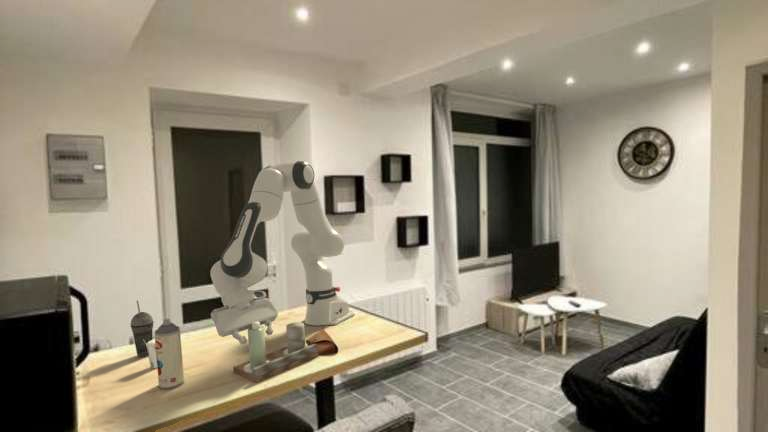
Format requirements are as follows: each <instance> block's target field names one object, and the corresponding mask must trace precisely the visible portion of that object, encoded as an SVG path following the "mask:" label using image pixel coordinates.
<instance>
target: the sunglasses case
mask: <svg viewBox="0 0 768 432" xmlns="http://www.w3.org/2000/svg"><path fill="white" fill-rule="evenodd" d="M305 343H307V344H308V346H310V345H312V344H317V349H318V357H320V356H321V357H322V356H325V355H326V356H327V355H333V354H337V353H338V352H339V348H338V346H337V344H336V343H335V341H334V340H333V338H332V337H331V335H330V334H328V332H327V331H326V330H325V329H324V328H321V329H320V330H319V331H318V332H317V333H315V334H313V335H312V336H310V337H309V338H307V339H305Z"/></svg>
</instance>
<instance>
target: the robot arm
mask: <svg viewBox="0 0 768 432" xmlns="http://www.w3.org/2000/svg"><path fill="white" fill-rule="evenodd" d="M285 192H290V197H291V201H292V206H293V209H294V213H295V217H296V219H297V222H298V223H299V224H300V225H301V226H303V227H304V228H305V230H301V231H297V232H296V233H294V235H292V237H291V241H290V243H291V248H292V250H293V252H294V253H296V254H297V256H298V258H300V261H301V263H302V265H303V268H304V273H305V285H306V289H305V299H306V312H305V318H304V324H306V325H308V326H309V325H310V326H316V327H317V326H318V327H319V326H330V325H331V326H332V325H333V326H335V325H338V324H340V323H342V322H343V321H345V320H347V319H350V318H351V317H353V316H355V312H354V311H353V310H350V307H349V303H348V301H347V300H345V299H344V298H342V297H341V296H339V295H338V294H337V293H336V292H340V291H341V287H340V286H333V270H332V268H331V267H330V266H329V265H328V264H327V263H326V261H325V260H324V258H332V257H338V256H339V255H341V253H342V252H343V250H344V248H345V240H344V238H343V235H342V234H340V233H339V232H338V231H337V230H336V229H335V228H334V227H332V225H331V224H330V222H329V221H328V219H327V218H326V215H325V213H324V210H323V206H322V202H321V199H320V195H319V192H318V188H317V186H316V184H315V171H314V168H313V166H312V165H311V164H310V163H309V162H306V161H301V160H298V161H285V162H283V163H278V164H273V165H271V164H270V165H268V166H266V167H264V168H262V169H261V171H259V173H257V177H256V178H255V181H254V183H253V187H252V190H251V193H250V197H249V200H248V202H247V203H246V205H244V206H243V209H242V211H241V213H240V215H239V218H238V219H237V220H238V221H237V224H236V226H235V229H234V231H233V234H232V236H231V239H230V241H229V243H228V245H227V246H226V248H225V250H224V251H223V252H222V255H221V257H220V260H218V261H217V262H215V263H214V264H213V265H212V266H211V268H210V273H209V275H210V278H211V282H212V284H213V286H214V289H215V291H216V292H217V294H218V295H219V296H220V297H221V302H222V304H223V306H222V307H219V308H215V309H213V310H211V313H210V318H211V320H212V321H213V322H214V325H215V330H216V332H217V334H218V336H219V337H221V338H224V337H229V336H230V335H231V336H232V338H234V339H235V340H237V341H238V342H239V344H240V345H244V344H246V343H247V342H248V338H246V335H243V336H242V335H241V334H240V333H241V332H244V331H248V329H249V328H252V323H253V322H260V326H263V325H264V326H265V327H266V330H264V332H265V334H266V335H267V336H270V335H272V334H273V333H274V330H273V329H272V323H273V322H274V321H275V320H277V318H278V315H279V310H277V308H276V306H275V304H274V302H273V301H271V299H270V298H268V297H267V292H266V291H263V290H262V291H261V290H250V289H248V288H250V287H252V286H255V285H256V284H258V283H260V282H261V281H263V280H264V279H265V277H266V276H267V274H268V271H269V268H268V263H267V261H266V260H265V259H264V258H263V257H262V256H260V255H258V254H256V253H255V252H253V251H252V248H251V247H252V243H253V238H254V235H255V232H256V230H257V227H258V225H259V224H260V223H261V222H270V221H272V220H274V219H276V218H277V217H278V215H279V213H280V210H281V207H282V204H283V200H284V193H285Z"/></svg>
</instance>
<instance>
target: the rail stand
mask: <svg viewBox="0 0 768 432" xmlns="http://www.w3.org/2000/svg"><path fill="white" fill-rule="evenodd" d="M285 330H286V345H287V346H285V347H282V348H279V349H277V350H274V351H272V352H269V353H266V363H265V364H262V365H260V366H257V367H255V368H252V369H251V368H250V360H248V361H246V362H242V363H240V364H238V365H235V366H233V368H232V369H233V373H236V374H237V375H240V376H242V377H244V378H246V379H247V380H250V381H252V382H254V383H259V382H262V381H264V380H266V379H269V378H271V377H274V376H276V375H277V374H280V373H283V372H285V371H287V370H290V369H291V368H294V367H296V366H298V365H299V366H300V365H301V364H303V363H306V362H308V361H310V360H312V359H315V358H317V357H319V356H318V349H317V344H312V345H307V346H306V337H305V336H306V335H305V334H306V333H305V332H306V331H305V322H304V323H303V322H300V321H299V322H290V323H288V324H286V328H285Z"/></svg>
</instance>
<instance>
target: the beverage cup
mask: <svg viewBox="0 0 768 432" xmlns="http://www.w3.org/2000/svg"><path fill="white" fill-rule="evenodd" d="M136 304H137V313H136V314H135V315H134V316H132V318H131V320H130V327H131V332H132V336H133V340H134V346H135V351H136V355H137V358H139V359H143V358H147V357H148V358H149V356H148V351H147V346H146V344H147V343H148V342H149V341H151V340H153V331H154V330H153V328H154V323H155V321H154V319H153V316H152V315H151V314H150V313H149V312H145V311H142V312H141V309H140V308H141V307H140V303H139V300H136ZM144 341H145V342H144ZM145 343H146V344H145Z"/></svg>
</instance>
